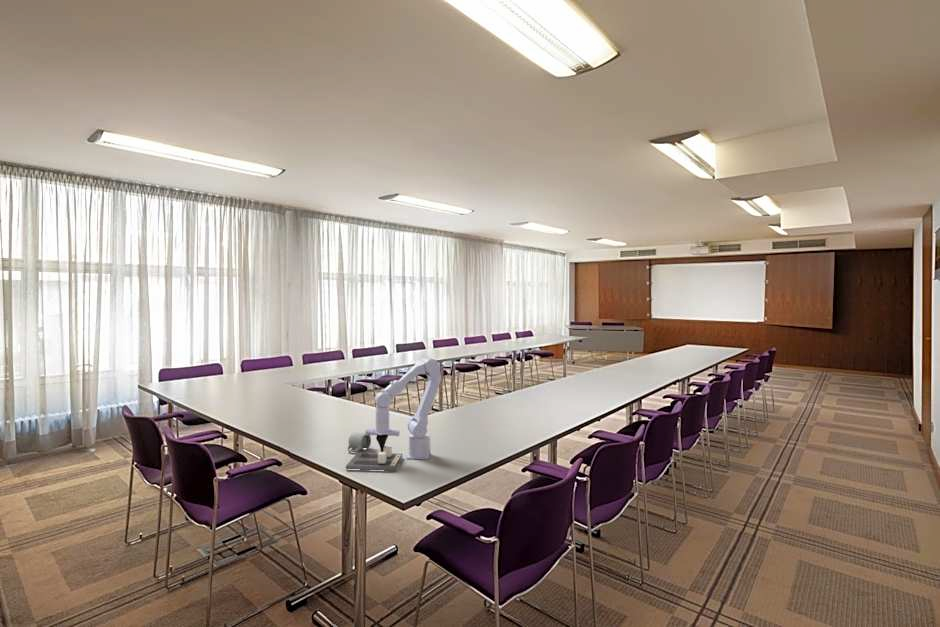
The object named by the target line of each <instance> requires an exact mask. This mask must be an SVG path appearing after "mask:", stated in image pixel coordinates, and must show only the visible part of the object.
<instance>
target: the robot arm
mask: <svg viewBox="0 0 940 627" xmlns="http://www.w3.org/2000/svg"><path fill="white" fill-rule="evenodd" d="M441 367H442V366H441V365H440V363H439V362H438V361H437V359H433V358H431V357H428V356H423V357H422V358H421V359H420V360H418V361H417V362H416V363H415V364H414V365H413V366H412V367H411V368H410V369H409V370H408V371H407V372H406V373H405V374H404V375H403V376H401V378H399V379H398V380H397V379H396V380H391V381H390V382H389V385H387V386H386V387H385V388H383V389H381V391H380V392H378V393H376V395H375V396H374V399H373V401H374V403H375V428H374V429H366V430H365V431H364V433H365V435H370V436H376V437H375V439H376V441H377V443H378V445H379V449H380V452H383V448H384V446H386V442H387V439H388V437H389V436H391V437H392V436H394V437H395V436H396V437H399V436H400V435H401V434H400V430H396V429H390V405H391V403H392V401H393V400H394V399H395V398H396V397H397V396H398V395H400V394H401V393H402V392H403V391H404V389H405V386H406V385H407V384H408V383H410V382H411V381H413V380H414V379H415V378H416V377H417V376H418V375H426V376H427V379H428V380H427V384H426V387H425V389H424V391H423V395H422V397H421V400H420V403H419V404H418V408H417V410H416V413H414V415H413V416H412V418H411V420H410V421H408V423H407V430H408V431H409V435H408V455H407V456H406V459H408V460H409V459H410V460H428V459H429V457H430V456H431V436H428V435H427V432H428V424H429V421H428V416H429V413H430V411H431V409H432V406H433V404H434V401H435V398H436V396H437V392H438V391H439V388H440V384H441V382H442V374H441ZM426 435H427V436H426Z"/></svg>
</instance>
